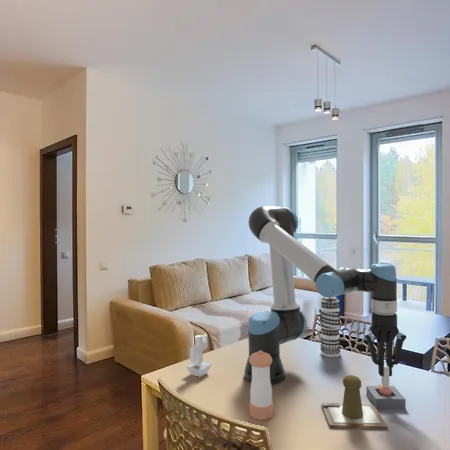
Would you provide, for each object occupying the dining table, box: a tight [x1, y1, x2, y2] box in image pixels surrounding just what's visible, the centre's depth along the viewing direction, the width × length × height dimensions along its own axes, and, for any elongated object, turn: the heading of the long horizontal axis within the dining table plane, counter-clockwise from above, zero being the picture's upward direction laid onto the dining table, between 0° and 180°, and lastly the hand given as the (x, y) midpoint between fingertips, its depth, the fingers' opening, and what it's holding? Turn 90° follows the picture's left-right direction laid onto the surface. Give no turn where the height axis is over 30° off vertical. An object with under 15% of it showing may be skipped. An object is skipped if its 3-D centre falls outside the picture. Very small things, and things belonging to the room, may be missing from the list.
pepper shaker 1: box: [248, 351, 274, 421], centre depth 111 cm, size 7×7×19 cm
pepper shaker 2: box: [342, 374, 363, 419], centre depth 108 cm, size 6×6×11 cm
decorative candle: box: [318, 296, 342, 358], centre depth 161 cm, size 9×9×25 cm
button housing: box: [365, 385, 407, 410], centre depth 117 cm, size 9×9×3 cm
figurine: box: [185, 333, 213, 378], centre depth 141 cm, size 7×9×15 cm
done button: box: [378, 383, 392, 396], centre depth 117 cm, size 4×4×2 cm
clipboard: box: [320, 402, 389, 430], centre depth 108 cm, size 16×12×1 cm
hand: (385, 385), depth 117 cm, fingers closed
